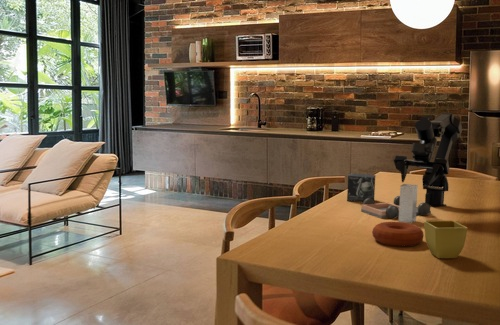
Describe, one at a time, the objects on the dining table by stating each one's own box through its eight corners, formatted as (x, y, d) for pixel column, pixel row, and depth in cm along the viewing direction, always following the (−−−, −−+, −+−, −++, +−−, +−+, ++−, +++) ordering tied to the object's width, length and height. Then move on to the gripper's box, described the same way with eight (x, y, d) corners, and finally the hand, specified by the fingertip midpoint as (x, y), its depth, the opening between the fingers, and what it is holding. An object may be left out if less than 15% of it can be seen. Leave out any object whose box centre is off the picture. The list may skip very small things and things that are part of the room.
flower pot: (421, 251, 159) (423, 220, 158) (451, 251, 160) (453, 220, 159) (434, 261, 151) (436, 227, 149) (466, 261, 151) (468, 227, 150)
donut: (432, 242, 170) (433, 226, 169) (406, 251, 159) (407, 234, 159) (389, 233, 180) (389, 217, 180) (361, 241, 170) (362, 224, 169)
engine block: (402, 219, 199) (404, 183, 197) (415, 220, 197) (417, 185, 195) (398, 221, 195) (400, 185, 194) (411, 223, 193) (413, 186, 191)
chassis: (406, 206, 221) (406, 195, 220) (433, 214, 207) (434, 202, 206) (358, 210, 212) (359, 198, 211) (384, 219, 198) (384, 207, 197)
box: (346, 201, 229) (347, 175, 228) (348, 198, 236) (349, 173, 234) (373, 203, 226) (374, 177, 225) (374, 200, 233) (375, 174, 231)
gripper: (396, 133, 208) (384, 166, 200) (449, 136, 198) (438, 171, 190) (402, 152, 215) (391, 185, 207) (453, 156, 205) (443, 191, 197)
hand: (415, 183), depth 200 cm, fingers open, 9 cm apart
